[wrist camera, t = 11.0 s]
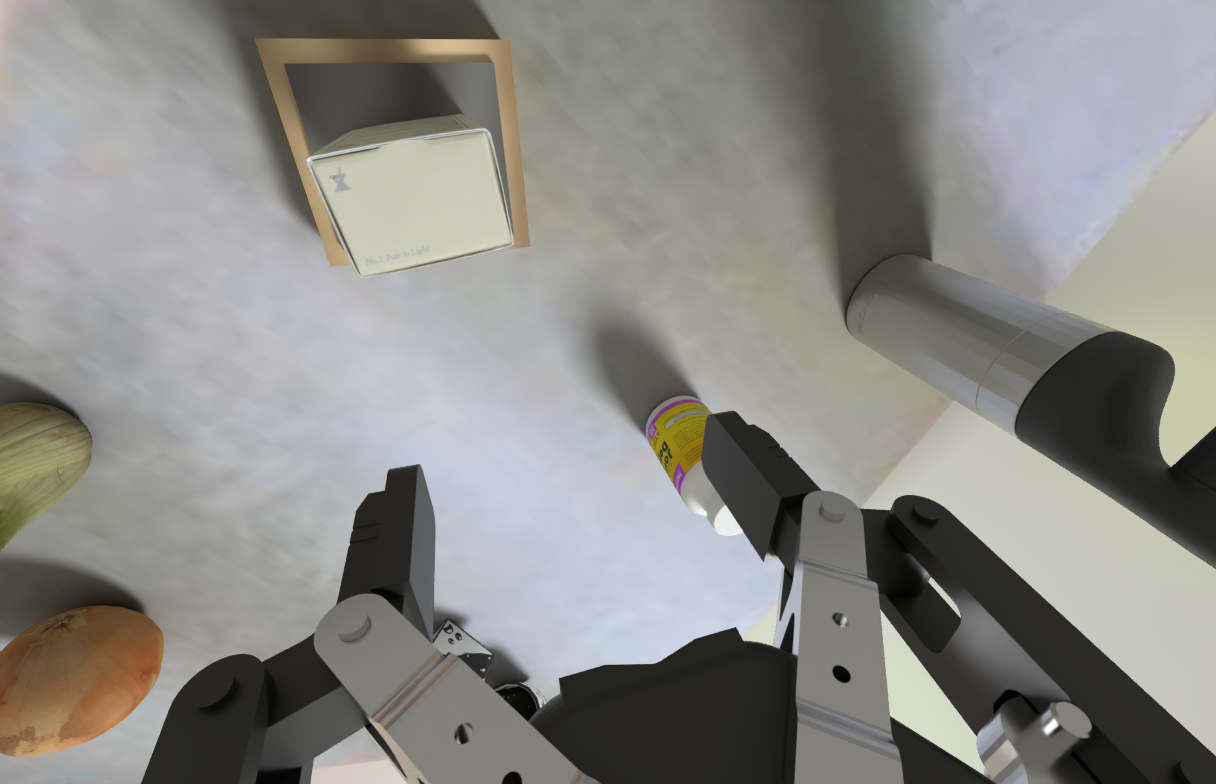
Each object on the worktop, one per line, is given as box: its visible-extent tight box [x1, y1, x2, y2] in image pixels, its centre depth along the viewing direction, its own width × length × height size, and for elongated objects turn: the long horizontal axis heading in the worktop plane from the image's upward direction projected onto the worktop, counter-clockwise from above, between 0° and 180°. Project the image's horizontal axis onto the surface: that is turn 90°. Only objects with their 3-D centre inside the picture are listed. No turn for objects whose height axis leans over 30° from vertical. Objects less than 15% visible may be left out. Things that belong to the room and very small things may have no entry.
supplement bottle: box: [646, 396, 743, 536], centre depth 43 cm, size 7×7×13 cm
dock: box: [254, 38, 530, 266], centre depth 28 cm, size 12×11×3 cm
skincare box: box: [305, 114, 514, 278], centre depth 22 cm, size 6×4×12 cm
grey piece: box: [433, 619, 546, 722], centre depth 55 cm, size 25×10×10 cm, turn 26°
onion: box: [0, 605, 164, 756], centre depth 37 cm, size 10×10×10 cm
